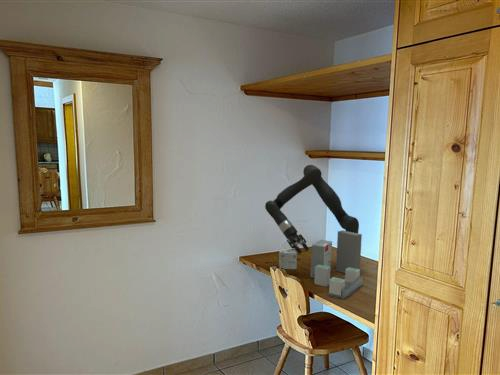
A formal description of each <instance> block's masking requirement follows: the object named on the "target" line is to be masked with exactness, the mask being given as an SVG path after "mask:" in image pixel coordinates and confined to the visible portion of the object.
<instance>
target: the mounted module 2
mask: <svg viewBox="0 0 500 375" xmlns="http://www.w3.org/2000/svg"><path fill="white" fill-rule="evenodd" d="M360 272H361V268H360V269H355V268H350V267H349V268H347V269H346V271H345V273H344V274H345V275H344V280H345V282H349V283H353V282H354V281H356V280H357V279H358V278H360V277H361V276H360V275H361V274H360Z"/></svg>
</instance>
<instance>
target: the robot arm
mask: <svg viewBox="0 0 500 375" xmlns="http://www.w3.org/2000/svg"><path fill="white" fill-rule="evenodd" d="M302 174H303V177H302V178H300V179H299V180H298V181H297V182H295V183H292V184H291V185H288V186H287V187H285V188H284V189H283V190H282V191H281V192H279V193H278V194H277V196H276V198H275V199H273V200H268V201H266V202H265V205H264V208H265V210H266V212H267V213H268V214H269V216H270V217H271V218H272V219H273V221H274V222H275V223H276V225H277V226H278V228H279V230H280V231H281V233H282V234H283V235H284V237H285V238H286V243H287V244H288V245H289V246H290V247H291V250H296V252H297V254H298V255H300V254H302V253H303V251H302V249H301V248H300V247H299V245H301V247H302V248H303V249H304V250H305V252H307V251H309V249H310V248H309V246H307V240H306V239H305V238H304V236H303V235H302V234H301V233H300V234H298V230H297V229H296V227H295V226H294V225H293V223H292V222H291V221H290V219H288V217H287V216H286V214H284V212H282V210H281V209H282V208H283V207H284V206H285V205H286V204H287V203H288V202H289V201H291V200H292V199H293V198H294V197H295V196H297V195H298V194H299V193H301V192H303V190H305V189H307V188H308V187H310V186H313V187H314V189H315V191H316V193H317V194H318V196H319V198H320V199H321V200H322V202H323V203H324V204H325V206H326V207H327V209H328V210H329V211H330V212H331V213H332V214H333V216H334V217H335V219H336V220H337V223H338V225H339V226H340V227H341V228H342V229H343V230H344V231H348V232H353V233H358V234H359V229H360V228H359V227H360V223H359V220H358V218H356V217H355V216H352V215H349V214H348V213H347V212H346V211H345V209H344V208H343V205H342V201H341V198H340V197H339V195H338V194H337V192H336V191H335V190H334V189H333V188H332V187H331V186H330V185H329V183H327V182H326V181H325V180H324V178H323V177H322V176H323V175H322V171H321V169H320V168H319V167H317V166H316V165H314V164H308V165H306V166H304V168H303V173H302Z"/></svg>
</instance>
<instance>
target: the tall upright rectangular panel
mask: <svg viewBox="0 0 500 375" xmlns="http://www.w3.org/2000/svg"><path fill="white" fill-rule="evenodd" d="M336 240H337V242H336V263H335V264H336V266H335V271H336V272H340V273H343V274H345V271H346V269H347V268H349V267H350V268H355V269H360V270H361V256H362V253H361V252H362V234H361V233H359V232H358V233H353V232H348V231H346V230H345V229H343V230H338V231H337V238H336ZM360 275H361V271H360Z"/></svg>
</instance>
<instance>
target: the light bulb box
mask: <svg viewBox="0 0 500 375" xmlns="http://www.w3.org/2000/svg"><path fill="white" fill-rule="evenodd" d="M297 254H298V252H297V251H296V249H279V252H278V257H279V258H278V267H279V269H280V268H283V269H282V270H297V268H298V267H297V263H298V262H297V260H298V258H297V257H298V255H297Z"/></svg>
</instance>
